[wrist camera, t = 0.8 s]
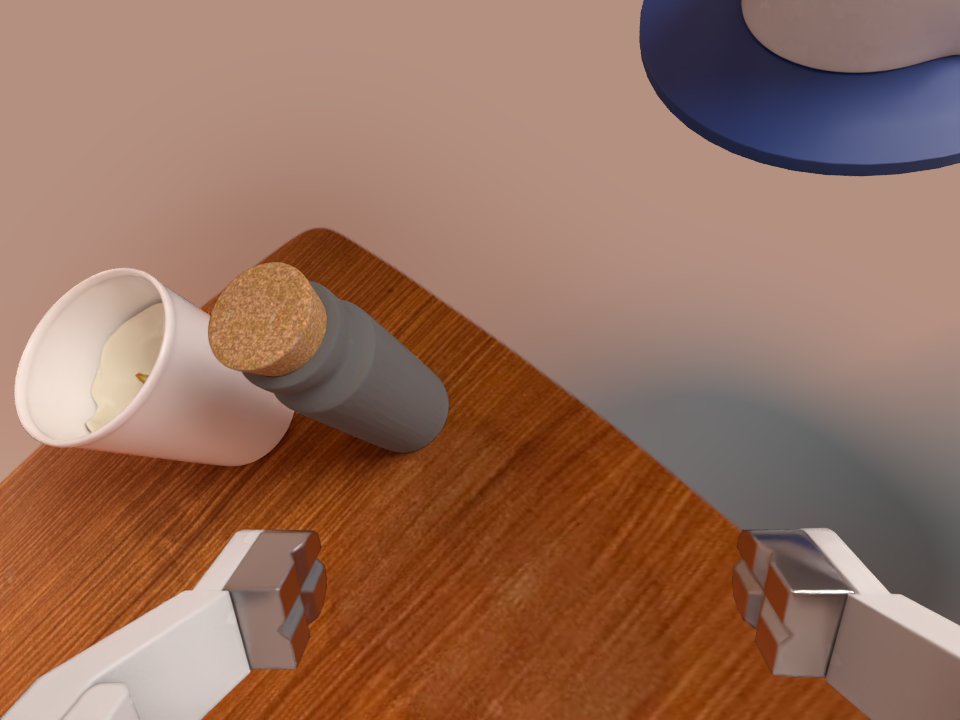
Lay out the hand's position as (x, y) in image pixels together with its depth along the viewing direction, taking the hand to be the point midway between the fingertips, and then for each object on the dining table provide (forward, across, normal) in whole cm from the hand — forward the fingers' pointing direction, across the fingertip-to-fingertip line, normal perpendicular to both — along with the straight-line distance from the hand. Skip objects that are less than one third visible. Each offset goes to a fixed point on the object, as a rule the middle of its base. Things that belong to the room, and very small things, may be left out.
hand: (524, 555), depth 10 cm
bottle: (+22, +7, +8) cm, 24 cm away
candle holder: (+25, +19, +9) cm, 33 cm away
